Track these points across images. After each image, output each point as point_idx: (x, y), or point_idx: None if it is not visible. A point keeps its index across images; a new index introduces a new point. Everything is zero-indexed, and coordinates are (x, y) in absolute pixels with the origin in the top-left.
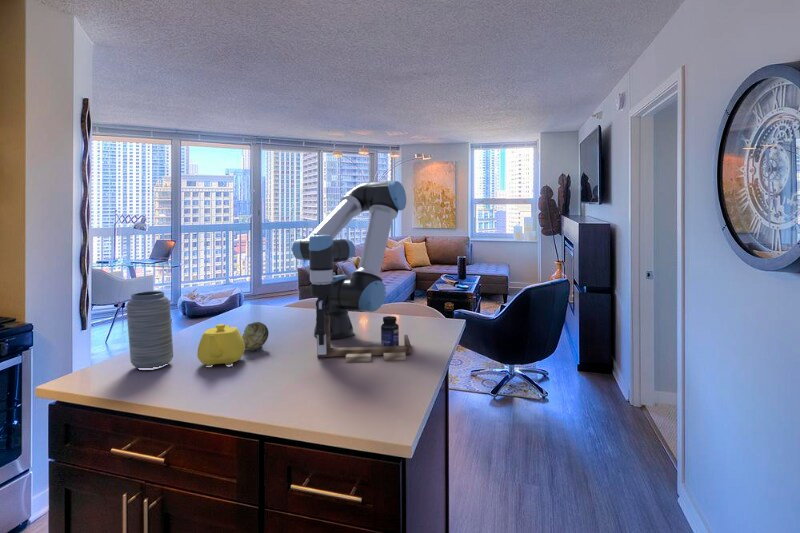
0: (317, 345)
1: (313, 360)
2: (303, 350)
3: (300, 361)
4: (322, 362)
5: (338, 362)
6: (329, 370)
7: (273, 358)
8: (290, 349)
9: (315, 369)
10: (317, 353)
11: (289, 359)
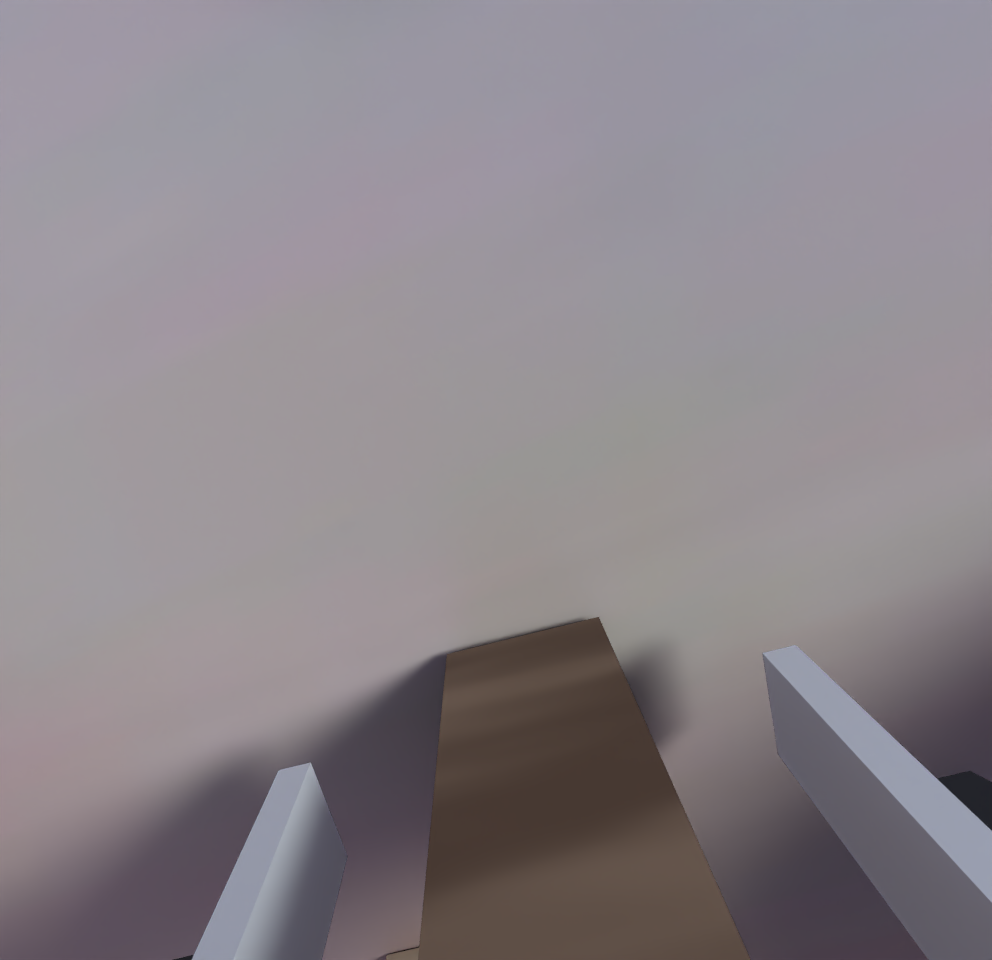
0: (218, 901)
1: (362, 633)
2: (763, 336)
3: (287, 494)
4: (316, 752)
5: (355, 897)
6: (94, 896)
7: (320, 16)
8: (809, 95)
9: (73, 764)
10: (446, 686)
11: (331, 307)
